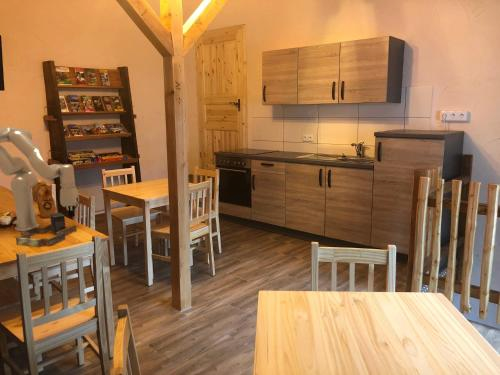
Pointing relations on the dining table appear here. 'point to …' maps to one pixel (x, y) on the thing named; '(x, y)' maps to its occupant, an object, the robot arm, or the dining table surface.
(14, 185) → the robot arm
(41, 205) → the coffee package
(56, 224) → the box
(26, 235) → the trap lane
